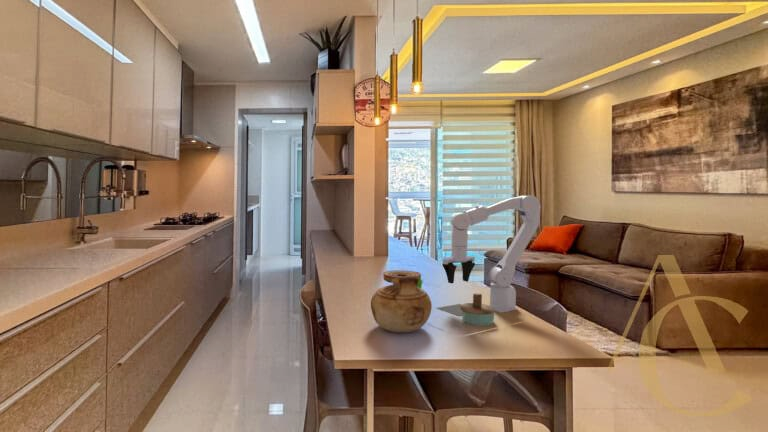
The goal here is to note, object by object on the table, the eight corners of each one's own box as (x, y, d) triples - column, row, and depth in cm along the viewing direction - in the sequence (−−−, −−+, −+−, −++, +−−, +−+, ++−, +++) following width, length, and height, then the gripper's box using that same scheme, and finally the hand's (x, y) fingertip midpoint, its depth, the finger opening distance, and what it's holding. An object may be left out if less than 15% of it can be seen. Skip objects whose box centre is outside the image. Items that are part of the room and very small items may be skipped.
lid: (476, 303, 146) (477, 289, 146) (501, 311, 137) (501, 296, 137) (453, 307, 141) (454, 292, 140) (477, 316, 131) (477, 300, 131)
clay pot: (354, 314, 134) (377, 256, 136) (402, 330, 141) (423, 275, 143) (377, 332, 116) (403, 265, 118) (430, 349, 123) (454, 286, 125)
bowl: (477, 316, 145) (477, 304, 145) (499, 323, 137) (500, 311, 137) (456, 320, 140) (456, 308, 140) (478, 328, 132) (479, 316, 131)
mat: (459, 304, 160) (459, 303, 160) (482, 312, 150) (482, 311, 150) (435, 309, 153) (435, 307, 153) (458, 317, 143) (458, 316, 143)
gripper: (465, 243, 161) (464, 278, 162) (437, 245, 153) (436, 281, 154) (479, 245, 156) (477, 281, 156) (450, 247, 147) (449, 285, 148)
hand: (458, 282), depth 155 cm, fingers open, 7 cm apart
